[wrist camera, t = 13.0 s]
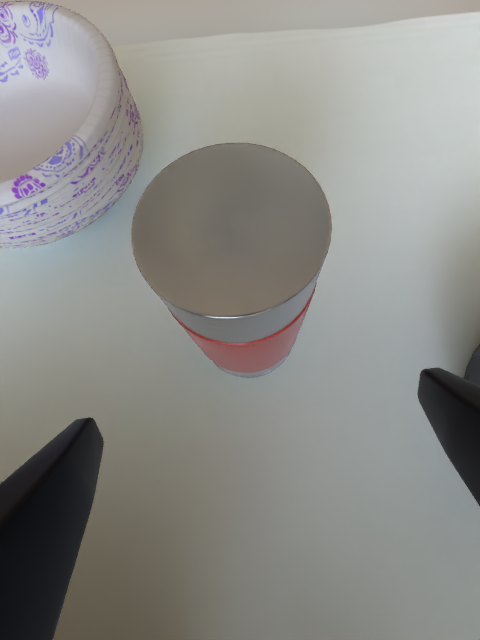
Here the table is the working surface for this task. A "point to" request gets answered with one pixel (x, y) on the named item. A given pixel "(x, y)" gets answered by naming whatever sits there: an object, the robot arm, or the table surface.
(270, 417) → the table surface
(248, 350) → the cylinder
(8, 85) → the paper bowls
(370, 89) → the table surface
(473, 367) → the pot
